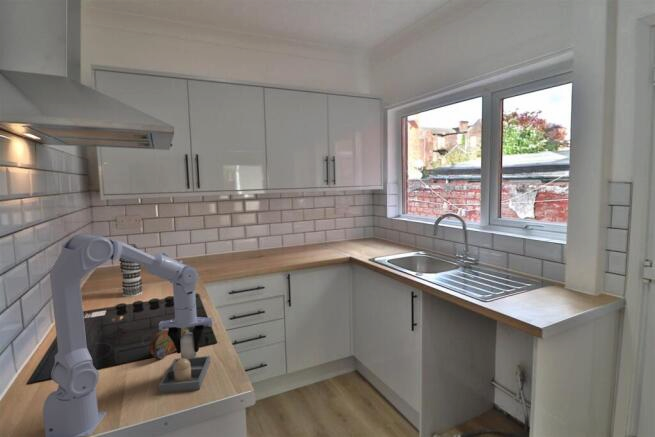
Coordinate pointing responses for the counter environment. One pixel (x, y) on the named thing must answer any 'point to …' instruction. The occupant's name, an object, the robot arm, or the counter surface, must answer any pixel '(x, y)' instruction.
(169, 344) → the tin
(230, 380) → the counter surface
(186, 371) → the brown egg
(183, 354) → the egg
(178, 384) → the grey shallow tray
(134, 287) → the decorative candle
